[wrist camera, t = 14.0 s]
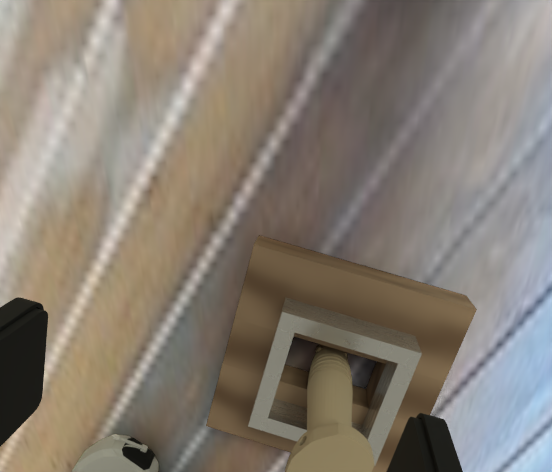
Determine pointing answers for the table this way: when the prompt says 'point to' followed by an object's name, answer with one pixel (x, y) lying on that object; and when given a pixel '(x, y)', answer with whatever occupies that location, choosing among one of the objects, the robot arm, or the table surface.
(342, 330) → the collar
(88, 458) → the robot toy
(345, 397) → the handle
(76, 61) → the table surface
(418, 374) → the board
